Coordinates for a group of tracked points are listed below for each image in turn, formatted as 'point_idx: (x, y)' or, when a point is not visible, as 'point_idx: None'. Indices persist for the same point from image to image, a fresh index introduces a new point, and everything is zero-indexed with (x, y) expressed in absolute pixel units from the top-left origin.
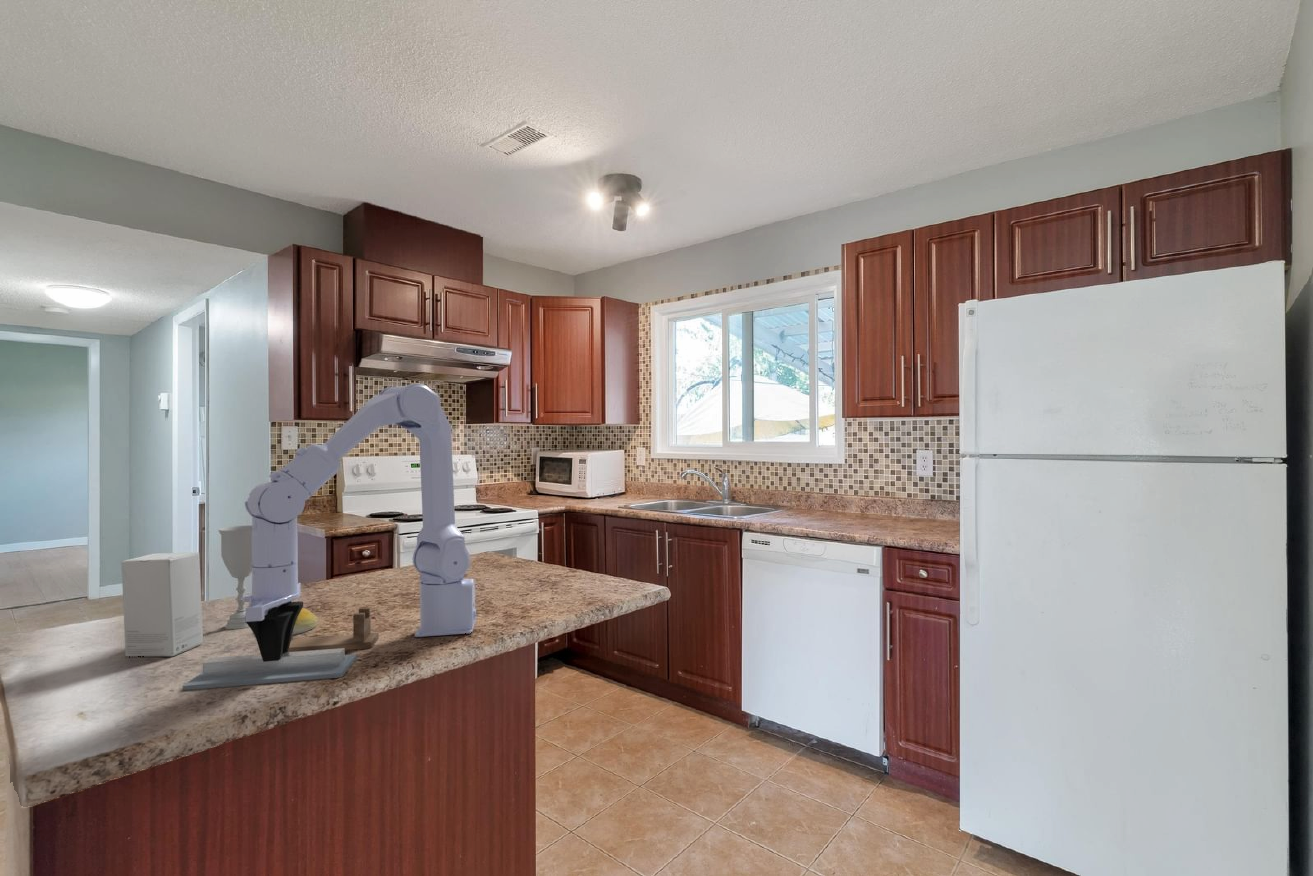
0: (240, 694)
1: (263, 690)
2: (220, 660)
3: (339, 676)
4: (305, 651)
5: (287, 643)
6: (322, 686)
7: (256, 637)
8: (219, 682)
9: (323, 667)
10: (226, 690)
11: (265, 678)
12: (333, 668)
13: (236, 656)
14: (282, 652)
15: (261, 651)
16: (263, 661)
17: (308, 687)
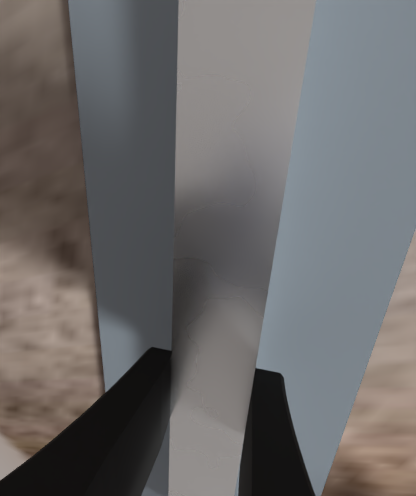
0: (11, 248)
1: (43, 314)
2: (200, 97)
3: None
4: (225, 492)
5: (239, 489)
6: None
7: (16, 472)
8: (87, 136)
9: None
10: (56, 180)
11: (107, 322)
12: (165, 490)
13: (269, 194)
14: (246, 422)
15: (117, 388)
16: (150, 348)
17: (56, 420)
